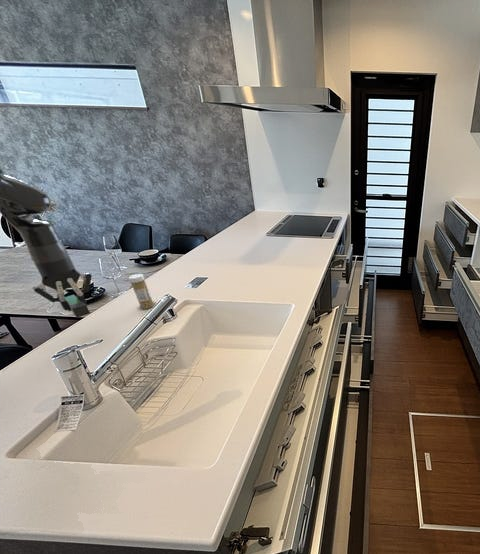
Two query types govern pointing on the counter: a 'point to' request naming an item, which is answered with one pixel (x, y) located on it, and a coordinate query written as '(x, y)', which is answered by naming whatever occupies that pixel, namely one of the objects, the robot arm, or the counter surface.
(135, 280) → the sprinkles bottle
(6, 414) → the counter surface
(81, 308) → the marker
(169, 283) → the counter surface
